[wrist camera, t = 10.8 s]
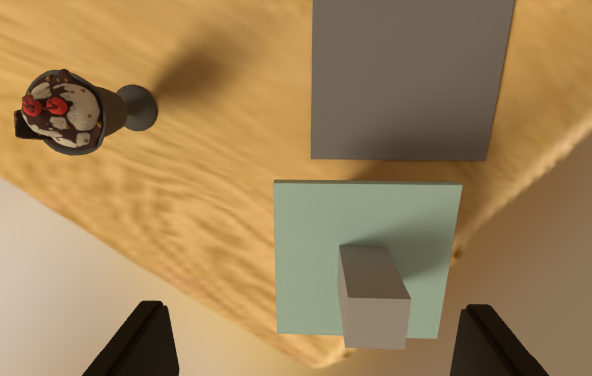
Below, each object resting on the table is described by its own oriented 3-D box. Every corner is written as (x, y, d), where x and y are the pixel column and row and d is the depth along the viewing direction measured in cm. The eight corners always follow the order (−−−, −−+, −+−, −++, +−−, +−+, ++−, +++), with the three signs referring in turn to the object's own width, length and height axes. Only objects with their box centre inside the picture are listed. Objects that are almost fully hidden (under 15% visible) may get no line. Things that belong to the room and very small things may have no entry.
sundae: (168, 85, 33) (61, 80, 19) (159, 145, 35) (56, 180, 21) (108, 68, 33) (-46, 48, 19) (103, 129, 35) (-41, 153, 21)
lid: (274, 179, 26) (259, 216, 18) (456, 181, 25) (519, 220, 18) (278, 325, 31) (267, 404, 23) (432, 330, 30) (474, 413, 22)
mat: (313, -39, 29) (313, -41, 29) (519, -44, 28) (522, -45, 28) (310, 158, 35) (310, 159, 35) (483, 159, 34) (485, 160, 34)
